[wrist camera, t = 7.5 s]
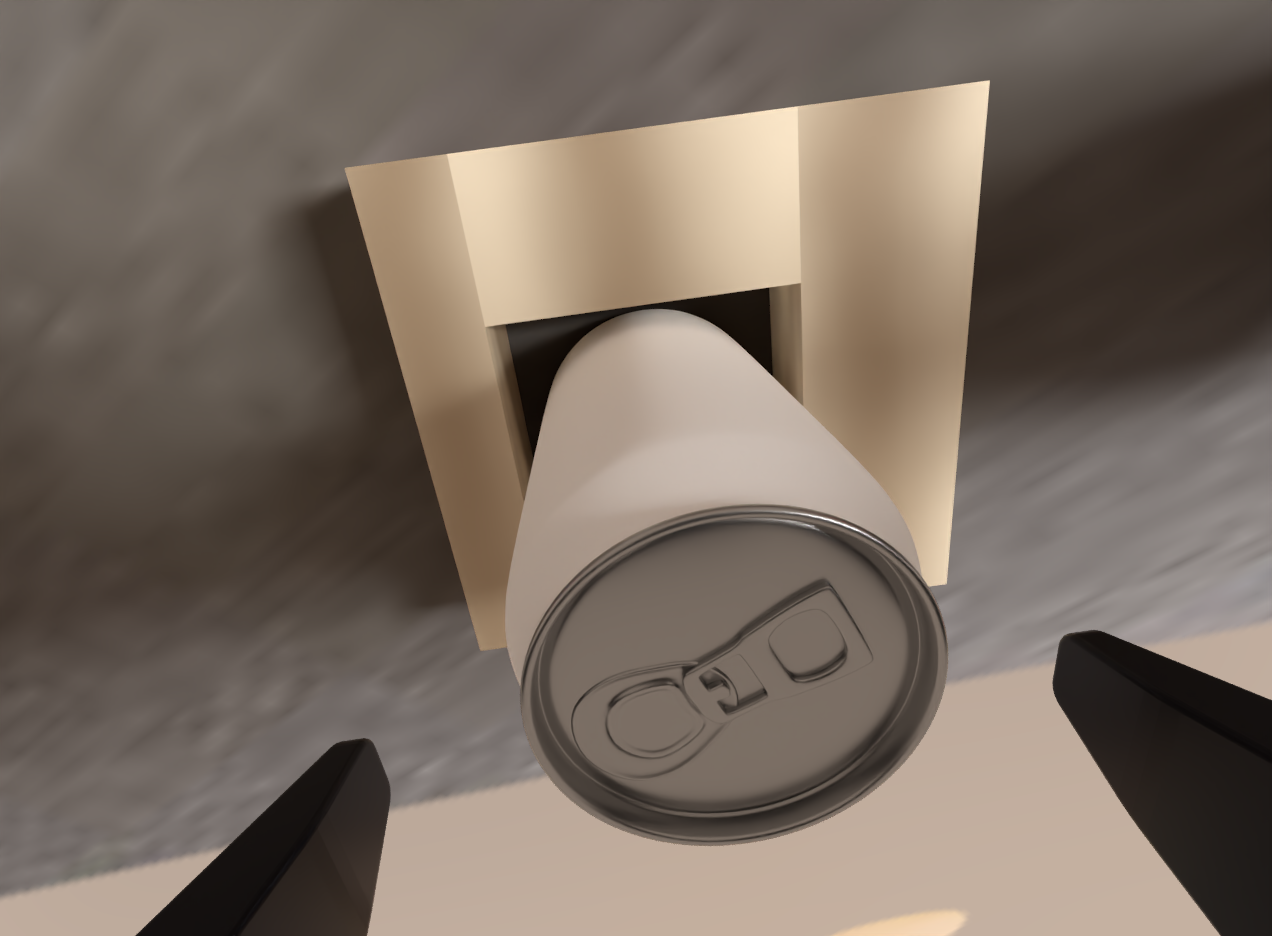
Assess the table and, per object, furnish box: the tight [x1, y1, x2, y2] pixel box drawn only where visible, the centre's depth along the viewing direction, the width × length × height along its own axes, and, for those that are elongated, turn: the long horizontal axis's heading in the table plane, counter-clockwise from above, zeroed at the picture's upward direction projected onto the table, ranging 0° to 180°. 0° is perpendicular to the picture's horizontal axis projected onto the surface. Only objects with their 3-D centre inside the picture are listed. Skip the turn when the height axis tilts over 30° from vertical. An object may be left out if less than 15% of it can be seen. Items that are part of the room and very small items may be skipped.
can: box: [505, 309, 948, 846], centre depth 14 cm, size 6×6×12 cm
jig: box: [345, 80, 990, 651], centre depth 17 cm, size 14×13×3 cm
